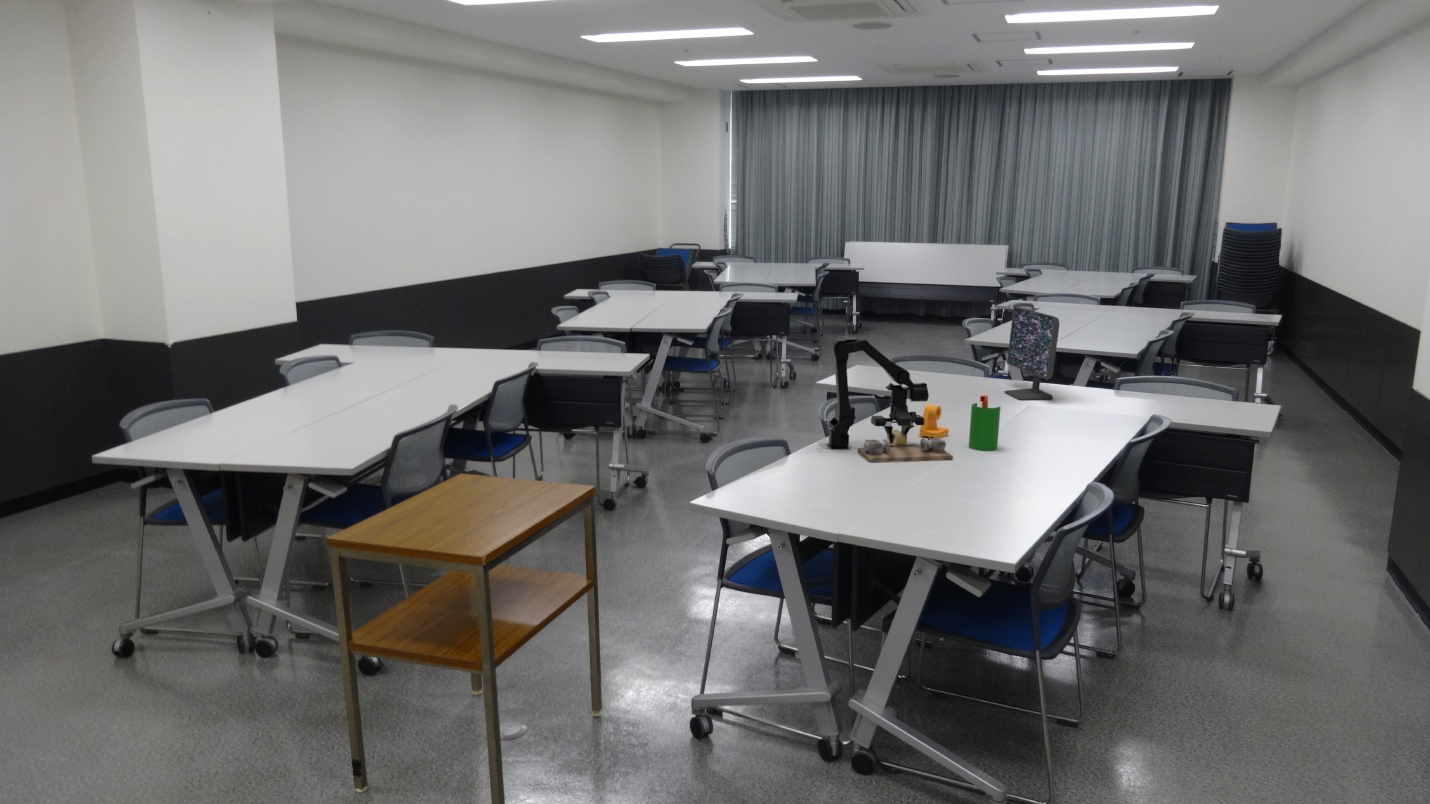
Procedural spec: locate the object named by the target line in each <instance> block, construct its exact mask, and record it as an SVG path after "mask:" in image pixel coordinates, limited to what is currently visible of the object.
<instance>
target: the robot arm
mask: <svg viewBox="0 0 1430 804" xmlns="http://www.w3.org/2000/svg"><path fill="white" fill-rule="evenodd" d="M829 351H830V354H831V355H830V356H831V358H832V360H833V364H834V373H835V374H834V375H835V387H836V388H835V389H836V390H835V391H836V400H837V401H836V405H835V409H834V417H832V419H830V420H829V421H828V427H829V430H828V443H826V445H827V446H828V447H829V448H830V449H832V450H836V449H837V450H838V449H839V450H842V449H849V447H850V446H849V445H850V435H849V430H850V428H851V427H852V426H853V425H854V423H855V420H856V419H857V417H856V414H855V413H856V407H854V406H853V405H852V404H851V403H850V398H849V397H850V395H849V382H848V381H849V380H848V366H847V365H848V360H849V356H850V355H849V354H852V353H853V354H854V353H857V352H863V353H864V354H865V355H866V356H868V358H870V359H871V360H872V361H874V362H875V363H876V364H877V365H879V366H880V368H882V369H883V370H884V372H885V373H886V374H887V376H888V377H889V378H890V379H891V381H893V382H894V383H897V384H893V383H892V382H890V383H888V385H886V386H885V389H886V390H888V391H890V392H891V393H890V402H889V406H890V408H889V414H888V417H884V416H883V415H872V416H871V418H870V424H871V425H873V426H875V427H882V428H884V430H885V433H886V437H887V436H888V439H889V442H890V443H891V444H892V430H894V429H893V428H894V426H893V425H892V424H897V426H899V427H901V429H900V430H901V432H902V433H903V434H905V435H906V436H908V433H909V431H910V430H911V429H913V428H915V425H916V426H921V425H924V422H925V420H924V418H923V415H920V414H917V411H909V407H908V405H907V404H908V403H907V402H908V400H910V402H912V403H913V402H927V401H928V400H929V396H930V395H929V388H928V384H927V383H926V382H920V383H919V382H918V383H916V382H915V383H914V382H913V381H912V379H911V373H910V372H909V371H908V370H907V369H905V368H904V367H901V366H900V365H898V364H896V363H894V362H892V361H891V360H890V359H889V358H888V357H886V356H885V355H884V354H883V353H881V352H880V351H879V350H878V349H877V348H875V346H873V345H872V344H871V343H870V342H869V340H867V339H865V338H863V337H861V338H856V339H853V338H852V339H849V338H848V339H841V338H840V337H839V338H838V337H837V338H834V339H832V340H831V341H830V343H829ZM903 385H904V386H903ZM907 399H908V400H907ZM914 424H915V425H914Z"/></svg>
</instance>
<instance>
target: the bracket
mask: <svg viewBox="0 0 1430 804" xmlns="http://www.w3.org/2000/svg"><path fill="white" fill-rule="evenodd" d="M941 415H942V407H941V405H936V404H926V405H925V407H924V410H923V414H922V417H923V418H924V420H925V422H924V425H920V428H919V436H922V437H926V436H927V437H926V438H931V437H933V438H941V439H944V438H946V437H947V435H949V431H950V428H948V427H945V426H944V427H943V426H938V422H937V421H939V420H940V418H941ZM945 436H946V437H945Z"/></svg>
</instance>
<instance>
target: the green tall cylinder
mask: <svg viewBox="0 0 1430 804" xmlns="http://www.w3.org/2000/svg"><path fill="white" fill-rule="evenodd" d="M979 402H981V406H978V402H974V403H972V404H971V409H970V423H969V437H968V447H969V448H970V449H974V450H978V451H995V450H997V449H998V445H999V444H998V443H999V430H1000V429H999V428H1000V419H1001V417H1000V416H1001V406H996V407H989V397H988V395H987V394H981V395H980V396H979Z"/></svg>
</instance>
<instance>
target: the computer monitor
mask: <svg viewBox="0 0 1430 804" xmlns="http://www.w3.org/2000/svg"><path fill="white" fill-rule="evenodd" d="M1012 309H1013V310H1012V317H1011V326H1010V327H1011V328H1010V333H1009V334H1010V335H1009V343H1008V350H1007V351H1008V352H1007V359H1006V364H1007V365H1010V366H1011V367H1015V368H1017V369H1020V370H1022V371H1024V372H1025V373H1026V372H1027V373H1029V374H1031V375H1033V379H1032V385H1031V386H1032V387H1030V388H1021V389H1020V388H1019V389H1008V390H1004V391H1003V392H1004V393H1005V394H1007V395H1009V396H1010V397H1013V398H1015V399H1017V400H1019V401H1051V400H1053V399H1054V396H1053V395H1052V394H1051V393H1049V392H1046V391H1043V390H1042V389H1040V386H1041V385H1040V384H1041V379H1044V380H1046V381H1048V380H1051V378H1052V376H1053V375H1054V370H1055V362H1056V361H1055V360H1056V354H1057V346H1058V339H1059V338H1058V337H1059V333H1060V332H1059V329H1060V319H1059V318H1058V317H1057V316H1054V315H1050V314H1047V313H1042V312H1039V311H1034V310H1031V309H1027V308H1023V307H1019V306H1016V305H1014V306H1013V308H1012Z"/></svg>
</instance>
